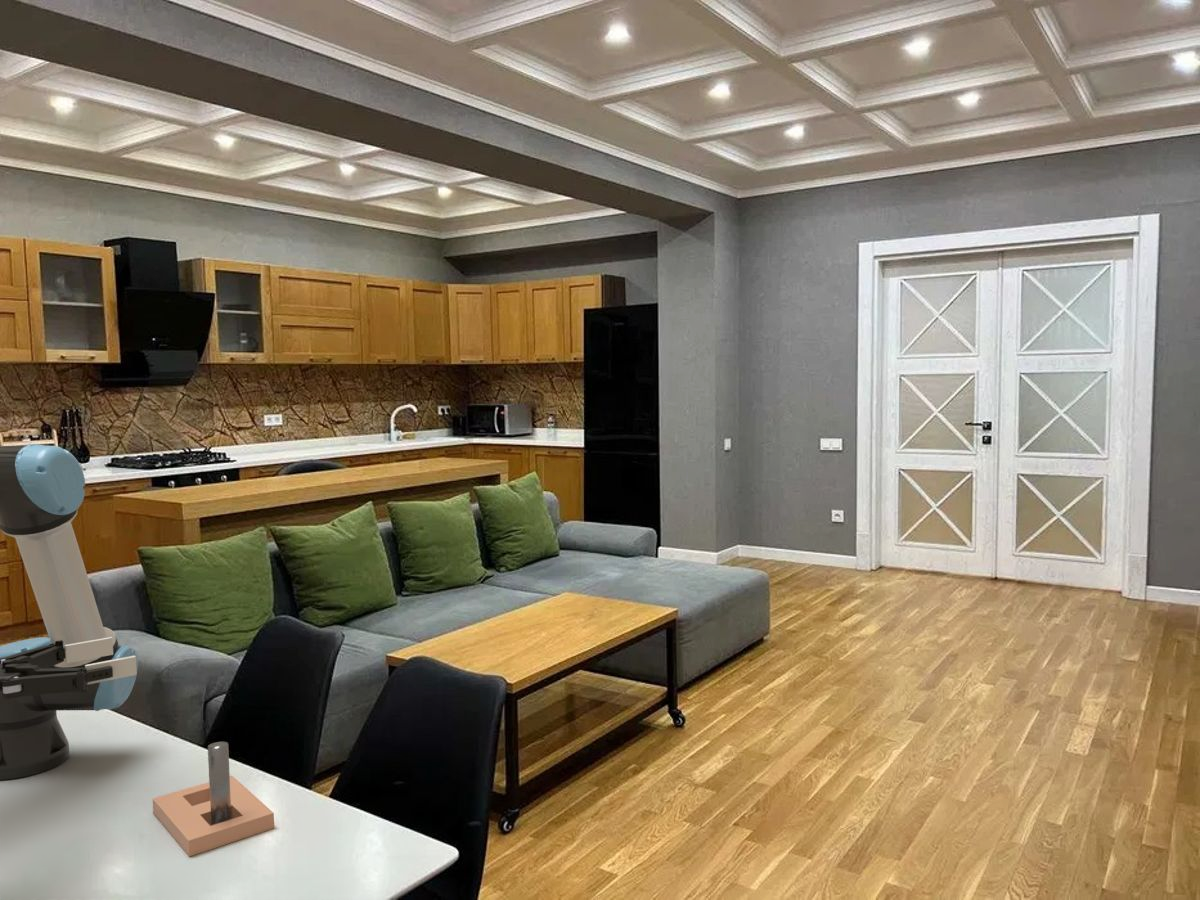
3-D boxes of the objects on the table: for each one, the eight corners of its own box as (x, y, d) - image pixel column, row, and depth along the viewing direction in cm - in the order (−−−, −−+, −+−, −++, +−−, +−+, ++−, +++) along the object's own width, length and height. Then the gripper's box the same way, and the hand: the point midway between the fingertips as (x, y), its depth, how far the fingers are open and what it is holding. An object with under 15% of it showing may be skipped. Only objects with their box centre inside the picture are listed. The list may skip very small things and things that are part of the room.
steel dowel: (208, 830, 144) (205, 745, 143) (228, 824, 146) (224, 740, 145) (215, 837, 142) (211, 750, 141) (234, 830, 144) (230, 745, 143)
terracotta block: (153, 812, 150) (152, 798, 150) (232, 789, 159) (231, 775, 159) (189, 856, 136) (188, 840, 136) (274, 827, 144) (273, 812, 144)
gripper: (-55, 691, 133) (104, 660, 147) (-33, 739, 115) (147, 699, 129) (-58, 641, 133) (102, 615, 147) (-36, 682, 114) (145, 648, 128)
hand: (123, 655), depth 138 cm, fingers open, 13 cm apart
